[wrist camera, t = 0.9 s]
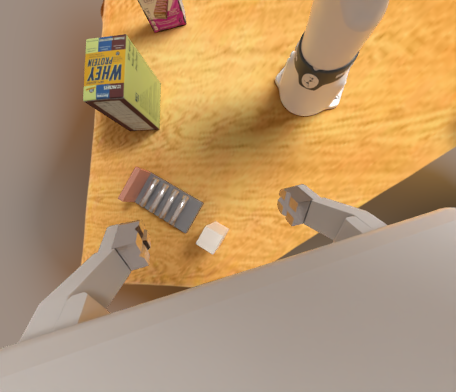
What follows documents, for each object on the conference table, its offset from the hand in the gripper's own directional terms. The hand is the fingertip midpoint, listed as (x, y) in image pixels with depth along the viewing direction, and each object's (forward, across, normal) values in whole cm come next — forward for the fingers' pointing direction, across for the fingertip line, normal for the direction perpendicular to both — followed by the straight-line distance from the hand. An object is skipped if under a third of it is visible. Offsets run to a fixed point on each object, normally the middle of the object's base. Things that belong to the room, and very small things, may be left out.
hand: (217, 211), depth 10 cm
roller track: (+36, +8, +24) cm, 44 cm away
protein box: (+58, +10, +2) cm, 59 cm away
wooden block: (+25, -4, +30) cm, 40 cm away
